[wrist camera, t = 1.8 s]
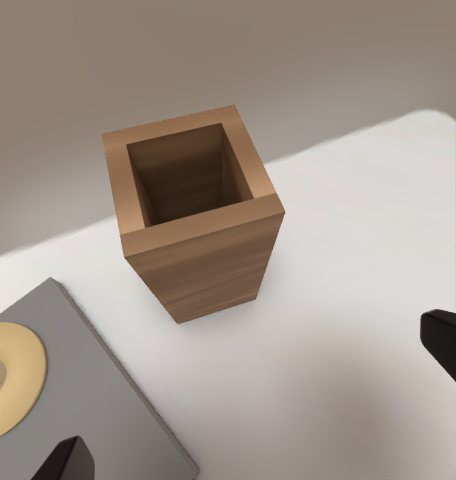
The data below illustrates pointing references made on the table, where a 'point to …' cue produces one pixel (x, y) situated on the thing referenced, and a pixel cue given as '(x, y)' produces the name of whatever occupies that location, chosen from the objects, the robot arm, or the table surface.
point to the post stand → (75, 396)
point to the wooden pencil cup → (194, 210)
